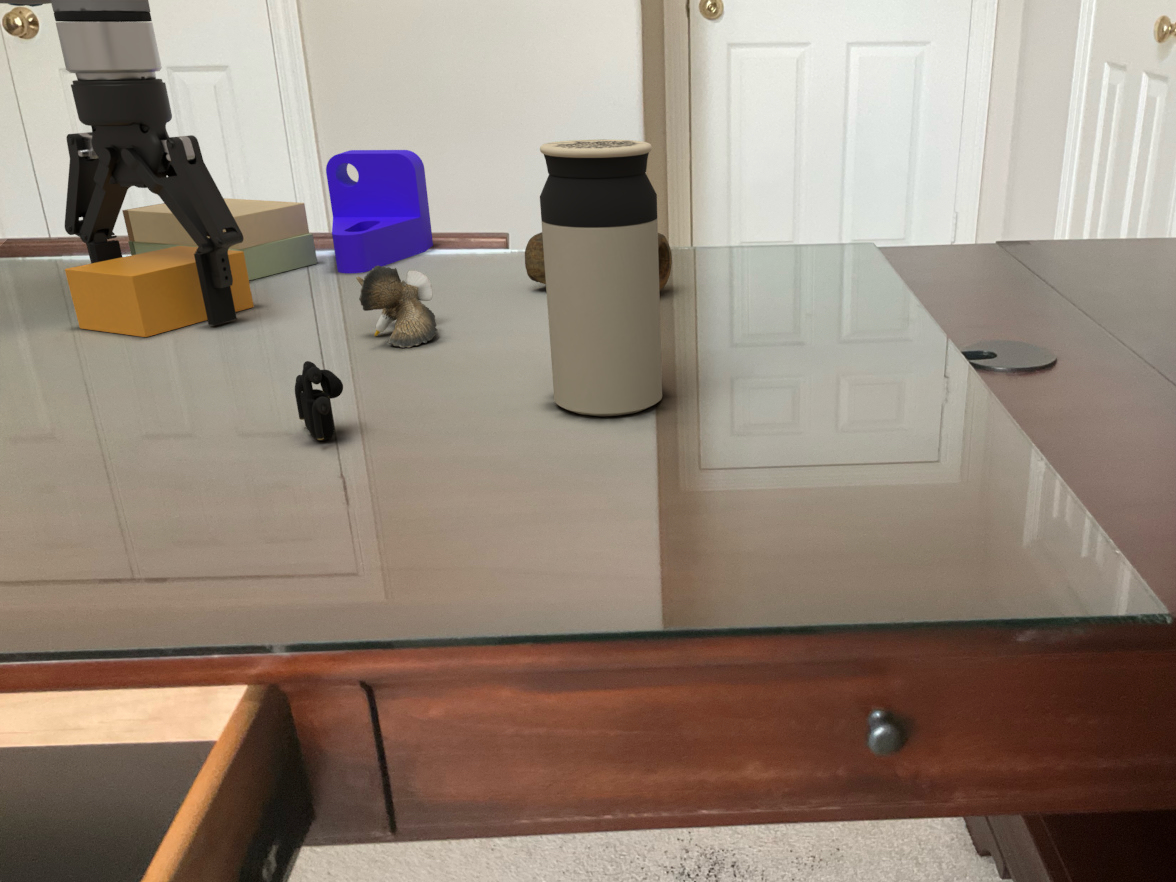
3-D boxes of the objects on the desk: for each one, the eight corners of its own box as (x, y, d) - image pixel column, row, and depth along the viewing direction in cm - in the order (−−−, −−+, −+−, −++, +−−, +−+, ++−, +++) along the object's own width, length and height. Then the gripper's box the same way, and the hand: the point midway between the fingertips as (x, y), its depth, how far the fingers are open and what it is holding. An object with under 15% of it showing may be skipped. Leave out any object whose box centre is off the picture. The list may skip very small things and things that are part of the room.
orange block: (145, 337, 98) (131, 276, 95) (79, 328, 101) (64, 268, 98) (254, 307, 108) (243, 251, 106) (191, 299, 111) (179, 245, 109)
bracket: (349, 246, 140) (335, 150, 135) (433, 245, 140) (422, 149, 135) (302, 274, 124) (284, 166, 119) (397, 273, 124) (383, 165, 119)
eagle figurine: (337, 316, 100) (341, 320, 91) (371, 246, 99) (377, 244, 91) (414, 355, 103) (425, 361, 95) (447, 287, 102) (460, 288, 94)
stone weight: (677, 287, 116) (676, 223, 113) (658, 302, 110) (656, 234, 107) (546, 281, 119) (542, 218, 116) (521, 294, 113) (515, 229, 110)
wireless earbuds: (297, 424, 76) (285, 354, 73) (334, 418, 77) (322, 348, 75) (322, 454, 70) (310, 379, 68) (361, 447, 71) (350, 373, 69)
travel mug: (682, 406, 79) (677, 145, 71) (583, 425, 75) (566, 152, 67) (631, 379, 85) (621, 136, 77) (537, 396, 81) (517, 142, 74)
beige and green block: (132, 272, 125) (118, 209, 122) (216, 253, 135) (205, 195, 132) (240, 283, 119) (227, 217, 116) (319, 263, 129) (309, 202, 126)
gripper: (256, 75, 94) (298, 318, 103) (57, 74, 103) (111, 297, 112) (187, 78, 88) (238, 336, 97) (-19, 77, 97) (45, 313, 106)
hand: (170, 316), depth 104 cm, fingers open, 13 cm apart
